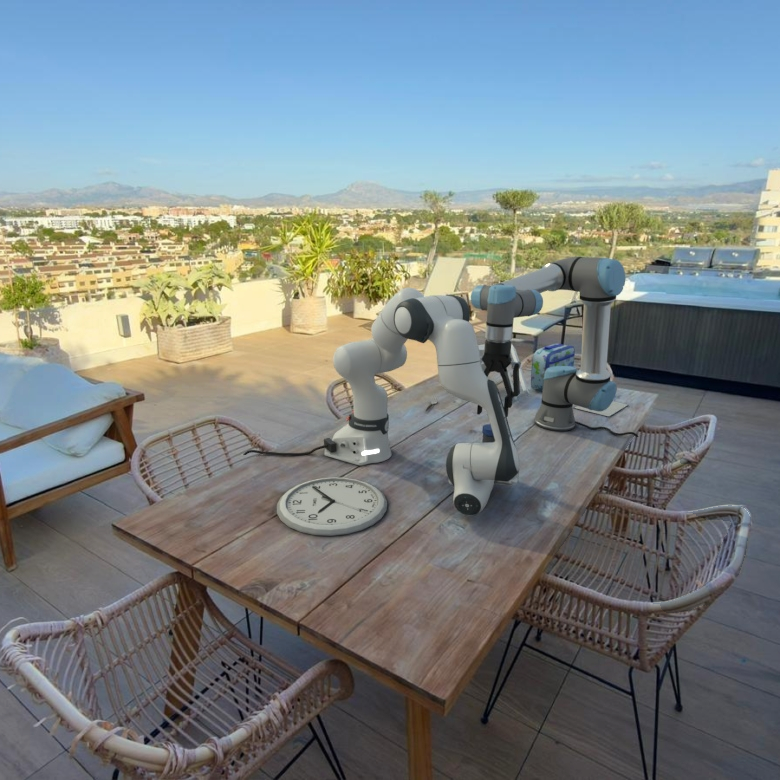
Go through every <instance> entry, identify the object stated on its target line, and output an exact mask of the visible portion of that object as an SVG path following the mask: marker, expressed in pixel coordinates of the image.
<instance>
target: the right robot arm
mask: <svg viewBox="0 0 780 780" xmlns="http://www.w3.org/2000/svg"><path fill="white" fill-rule="evenodd" d="M625 285H626V271H625V268H624V266H623V264H622V263H621V261H619V260H618V259H615V258H609V257H597V256H595V257H593V256H571V257H570V256H569V257H566V258H562V259H558V260H556V261H552V262H548V263H546V264H544V265H543V266H542V267H541V268H540V269H538V270H534V271H532V272H528V273H525V274H522V275H520V276H516V277H513V278H511V279H510V278H509V279H507V280H504V281H501V282H499V283H495V284H491V285H486V284H479V285H476V286H475V287H474V288H473V289H472V291H471V293H470V303H471V305H472V307H473V308H474V309H477V310H481V311H486V324H485V333H484V334H485V336H484V338H485V339H486V340H484V344H485V348H484V355H483V357H480V361H481V363H482V361H483V362H484V364H485V366H486V368H485V370H484V373H485V375H486V376H487V378H488V377H489V375H490V373H492V372H493V373H495V372H496V373H499V375H500V376H501V379H502V383H503V386H504V389H505V393H506V395H505V397H504V403H503V406H504V410H505V413H506V417H507V418H508V416H509V409H511V408H512V406H513V400H514V398H515V397H519V395H520V394H521V387H520V386H521V382H520V379H519V368H520V365H521V364H522V363H521V361H519V362H515V361H514V360H513V359H511V356H510V355H511V344H512V339H513V330H514V319H515V318H523V317H524V318H525V317H531V316H534V315H538V314H539V313H540V312H541V311H542V310H543V306H544V300H543V299H544V298H543V296H542V293H545V292H547V291H548V292H557V291H572V292H578V293H579V298H578V299H579V301H580V302H581V303H582V305H583V311H582V312H583V314H582V331H581V333H582V335H581V351H580V352H581V355H580V368H579V369H578V368H577V367H576V366H573V367H572V366H554V367H550V368H547V369H546V371H545V374H544V378H543V379H544V382H543V390H541V391H542V394H541V402H540V405H539V407H538V410H537V411H536V413H535V417H534V424H535V425H536V426H537V427H539V428H542V429H544V430H549V431H556V432H567V431H572V430H574V429H575V428H576V425H579V426H581V427H584V428H586V429H589V430H606V431H608V432H609V433H610V434H612V435H614V436H621V437H622V436H627V435H633V436H634V437H636V438H639V435H638V434H637V433H635V432H633V431H627V432H626V431H625V432H615V431H613V430H611V428H609V427H606V426H596V427H593V426H590V425H587V424H584V423H582V422H579V421H576V418H575V417H576V416H575V413H574V407H573V405H574V406H580V407H584V408H587V409H589V410H595V411H604V410H606V409H607V408H608V407H609V406H610V404H611V403H612V401H614V400H615V398H616V394H617V389H618V387H617V384H616V382H615V381H613V380H611V372H610V371H609V370H608V369H607V365H608V350H609V338H610V337H609V336H610V323H611V309H612V308H611V307H612V303H614V302H615V301H616V300H617V296H619V295H620V294H621V293H622V292H623V290H624V287H625ZM509 366H511V369H512V381H513V388H514V392H513V390H512V387H511V383H510V380H509V376H508V371H507V367H508V368H509ZM490 371H491V372H490ZM476 408H477V410H476V415H481V413H483V408H482V407H481V406H479V405H478V404H477V407H476Z"/></svg>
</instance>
